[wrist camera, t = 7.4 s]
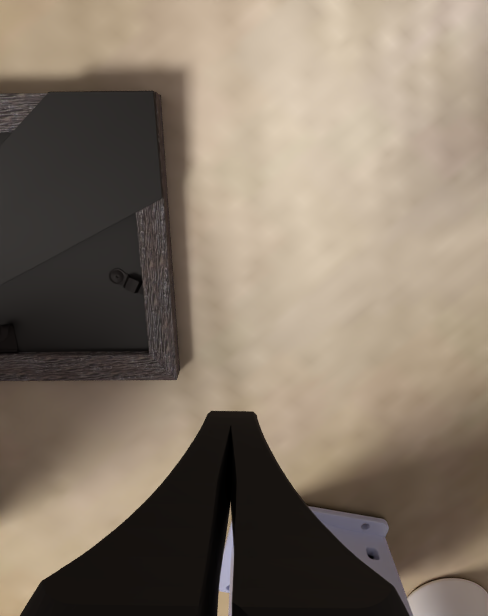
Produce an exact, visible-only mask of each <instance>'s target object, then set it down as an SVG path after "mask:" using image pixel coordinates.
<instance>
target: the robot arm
mask: <svg viewBox="0 0 488 616" xmlns="http://www.w3.org/2000/svg"><path fill="white" fill-rule="evenodd" d="M230 502H231V514H232V521H231V525H230V529H229V532H228V536H227V540H226V544H225V539H226V531H227V524H228V517H229V510H230ZM365 523H367V524H365ZM362 524H363V525H362ZM388 530H389V526H388V524H387V521H386V520H384V519H381V518H375V517H369V516H364V515H358V514H352V513H346V512H340V511H334V510H329V509H323V508H317V507H311V506H307V505H306V503H305V502H304V501H303V500H302V498H301V497H300V496H299V494H298V493H297V492H296V490H295V489H294V488H293V486H292V485H291V483H290V482H289V480H288V479H287V477H286V476H285V474H284V473H283V471H282V469H281V468H280V466H279V464H278V463H277V461H276V459H275V457H274V455H273V454H272V452H271V450H270V448H269V446H268V444H267V442H266V440H265V438H264V435H263V433H262V431H261V428H260V425H259V422H258V419H257V415H256V414H255V413H254V412H246V411H211V412H210V413H208V414H207V417H206V419H205V421H204V423H203V425H202V427H201V429H200V431H199V432H198V434H197V436H196V437H195V439H194V441H193V442H192V444H191V445H190V447H189V448H188V450H187V451H186V453H185V454H184V456H183V457H182V458H181V460H180V461H179V462H178V464H177V465H176V466H175V468H174V469H173V470H172V471H171V473H170V474H169V475H168V477H167V478H166V479H165V480H164V481H163V483H162V484H161V485H160V486H159V487H158V488H157V489H156V491H155V492H154V493H153V494H152V495H151V496H150V497H149V498H148V499H147V500H146V501H145V502H144V503H143V504H142V505H141V506H140V507H139V508H138V509H137V510H136V511H135V512H134V513H133V514H132V515H131V516H130V517H129V518H127V519H126V520H125V521H124V522H123V523H122V524H121V525H120V526H118V527H117V528H116V529H115V530H114V531H112V532H111V533H110V534H109V535H107V536H106V537H105V538H104V539H102V540H101V541H100V542H99V543H97V544H96V545H95V546H94V547H92V548H91V549H90V550H88V551H87V552H85V553H84V554H83V555H81V556H80V557H78V558H77V559H75V560H74V561H72V562H71V563H69V564H68V565H66V566H64V567H63V568H61V569H60V570H58V571H57V572H55V573H54V574H52V575H51V576H49V577H47V578H46V579H44V580H42V581H41V583H40V584H39V586H38V587H37V589H36V591H35V592H34V594H33V595H32V597H31V599H30V600H29V602H28V603H27V605H26V607H25V608H24V610H23V611H22V613H21V615H20V616H217V609H218V593H219V591H221V592H228V593H229V614H228V616H413V613H412V611H411V608H410V605H409V602H408V600H407V597H406V594H405V591H404V588H403V586H402V583H401V580H400V577H399V574H398V572H397V569H396V566H395V563H394V561H393V558H392V555H391V552H390V549H389V547H388V544H387V541H386V538H385V537H386V534H387V532H388ZM224 546H225V547H224Z"/></svg>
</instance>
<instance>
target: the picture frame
mask: <svg viewBox="0 0 488 616" xmlns="http://www.w3.org/2000/svg"><path fill="white" fill-rule="evenodd" d="M179 371H180V366H179V352H178V338H177V323H176V309H175V295H174V280H173V266H172V252H171V237H170V223H169V209H168V194H167V180H166V166H165V151H164V137H163V123H162V108H161V95H159V94H158V93H156V92H154V91H90V92H48V93H20V94H0V381H60V380H177V378H178V374H179Z"/></svg>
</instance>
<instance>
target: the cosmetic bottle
mask: <svg viewBox="0 0 488 616" xmlns="http://www.w3.org/2000/svg"><path fill="white" fill-rule="evenodd" d="M407 600H408V602H409V605H410V608H411V611H412V613H413V616H488V593H487V592H486V591H485V590H484V589H483V588H482V587H481V586H480V585H478V584H476V583H474V582H472V581H469V580H465V579H460V578H444V579H438V580H435V581H431V582H429V583H426V584H424V585H422V586H420V587H419V588H417V589H416V590H414V591H413V592H412V593H411V594H410V595H409V596H408V597H407Z"/></svg>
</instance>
